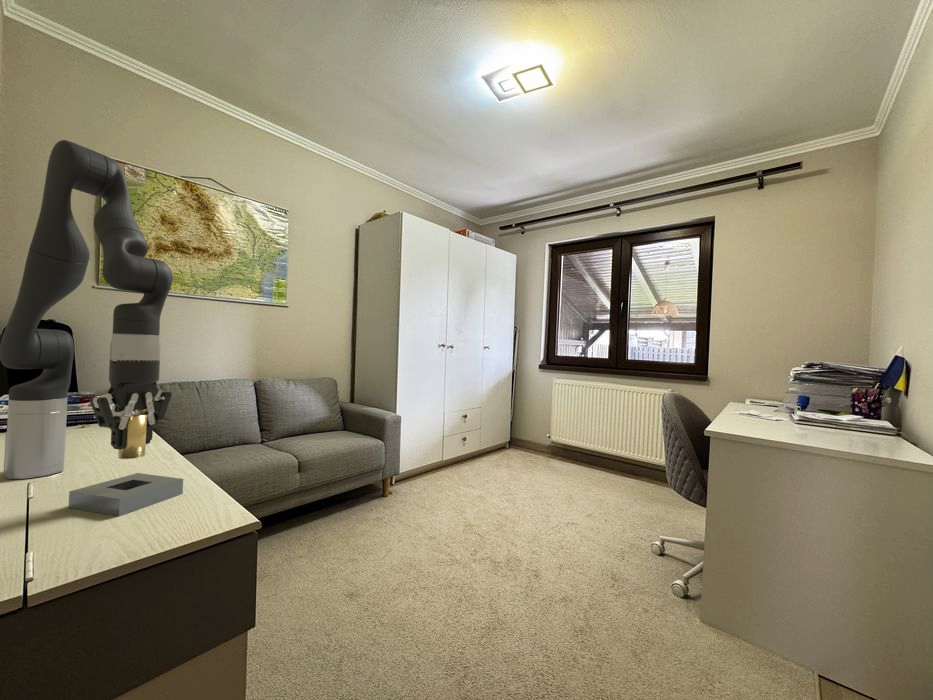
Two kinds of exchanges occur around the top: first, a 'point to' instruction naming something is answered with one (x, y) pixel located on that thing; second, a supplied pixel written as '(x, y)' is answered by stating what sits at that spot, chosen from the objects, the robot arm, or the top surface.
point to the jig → (125, 494)
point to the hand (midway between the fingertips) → (132, 445)
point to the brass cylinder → (135, 437)
